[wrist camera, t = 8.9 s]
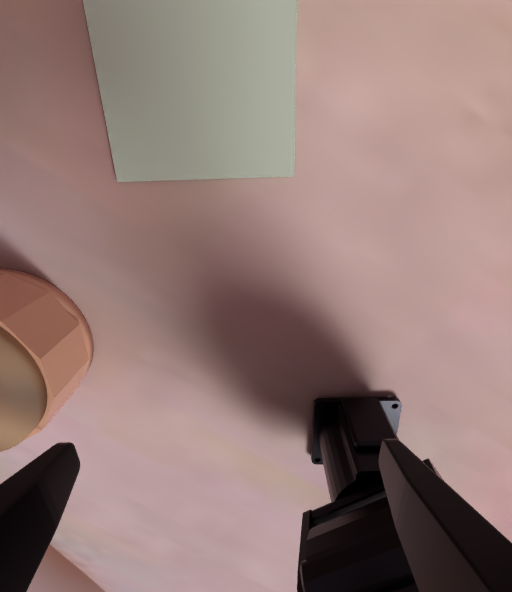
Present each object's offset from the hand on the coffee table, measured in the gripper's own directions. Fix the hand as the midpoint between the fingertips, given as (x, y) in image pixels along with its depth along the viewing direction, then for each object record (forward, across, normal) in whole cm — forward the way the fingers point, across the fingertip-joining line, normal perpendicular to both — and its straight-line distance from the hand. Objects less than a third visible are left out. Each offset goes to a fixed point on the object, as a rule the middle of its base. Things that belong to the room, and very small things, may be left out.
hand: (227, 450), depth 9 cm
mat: (+12, +2, -12) cm, 17 cm away
